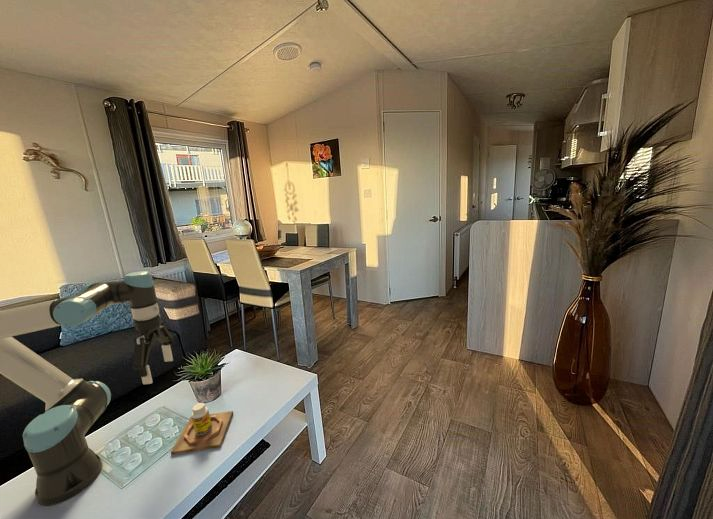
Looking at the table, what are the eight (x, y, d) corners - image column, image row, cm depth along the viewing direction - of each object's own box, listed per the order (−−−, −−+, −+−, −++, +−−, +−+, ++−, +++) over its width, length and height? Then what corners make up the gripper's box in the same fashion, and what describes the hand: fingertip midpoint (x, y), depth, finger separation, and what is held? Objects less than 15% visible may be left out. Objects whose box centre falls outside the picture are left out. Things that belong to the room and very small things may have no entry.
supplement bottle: (196, 438, 104) (190, 414, 102) (194, 429, 109) (188, 405, 107) (213, 431, 107) (207, 407, 105) (211, 421, 112) (205, 398, 109)
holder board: (171, 455, 100) (169, 449, 99) (191, 419, 115) (189, 415, 115) (220, 447, 102) (219, 442, 101) (233, 413, 117) (232, 408, 117)
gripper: (135, 332, 89) (149, 393, 94) (176, 302, 113) (186, 352, 118) (109, 334, 88) (124, 395, 93) (155, 303, 113) (166, 353, 117)
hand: (159, 371), depth 106 cm, fingers open, 13 cm apart
